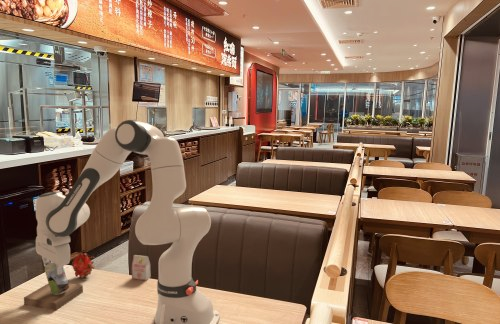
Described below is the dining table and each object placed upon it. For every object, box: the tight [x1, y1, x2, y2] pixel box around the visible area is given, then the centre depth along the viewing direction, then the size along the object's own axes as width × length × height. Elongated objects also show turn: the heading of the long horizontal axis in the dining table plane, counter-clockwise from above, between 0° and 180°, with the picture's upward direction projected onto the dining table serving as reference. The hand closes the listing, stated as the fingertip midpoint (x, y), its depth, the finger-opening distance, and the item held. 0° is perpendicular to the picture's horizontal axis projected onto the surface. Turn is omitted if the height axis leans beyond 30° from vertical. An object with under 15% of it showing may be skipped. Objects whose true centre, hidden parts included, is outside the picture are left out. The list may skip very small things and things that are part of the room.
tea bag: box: [131, 254, 152, 282], centre depth 158 cm, size 4×7×10 cm, turn 76°
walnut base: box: [23, 282, 84, 311], centre depth 140 cm, size 14×14×4 cm
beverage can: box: [44, 261, 69, 295], centre depth 138 cm, size 6×7×12 cm
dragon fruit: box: [71, 249, 95, 279], centre depth 157 cm, size 8×8×12 cm
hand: (53, 270), depth 139 cm, fingers open, 8 cm apart
